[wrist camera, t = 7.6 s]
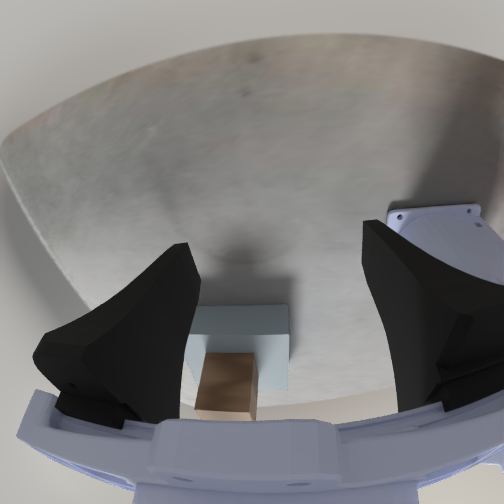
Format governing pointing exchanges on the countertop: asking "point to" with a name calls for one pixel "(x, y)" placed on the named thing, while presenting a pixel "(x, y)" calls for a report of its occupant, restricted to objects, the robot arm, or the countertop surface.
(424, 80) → the countertop surface
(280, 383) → the slate block
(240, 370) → the walnut block
